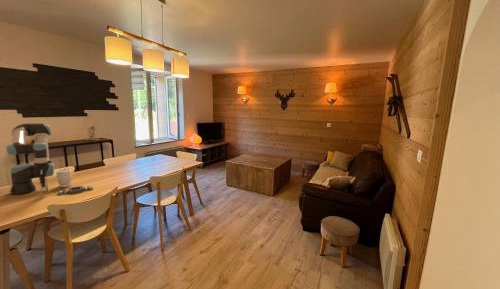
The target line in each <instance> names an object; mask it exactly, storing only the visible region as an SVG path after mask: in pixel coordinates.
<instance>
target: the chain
mask: <svg viewBox="0 0 500 289" xmlns="http://www.w3.org/2000/svg"><path fill="white" fill-rule="evenodd" d="M92 190H94V188H93V185H88V186H83V185H80V186H79V185H77V186H72V187H68V189H66V188H65V189H63V190H62V189H59V190H58V191H57V195H68V194H69V195H72V194H78V193H79V194H80V193H83V192H87V191H92Z"/></svg>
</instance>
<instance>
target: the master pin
mask: <svg viewBox="0 0 500 289" xmlns="http://www.w3.org/2000/svg"><path fill="white" fill-rule="evenodd" d="M38 180H39V184H40V183H41V182H40V178H38ZM45 183H46V191H42V189H41V188H40V191H41V193H43V194H44V193H48V192H49V190H48V177H45ZM40 186H41V184H40Z"/></svg>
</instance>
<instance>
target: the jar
mask: <svg viewBox="0 0 500 289" xmlns="http://www.w3.org/2000/svg"><path fill="white" fill-rule="evenodd" d="M71 171H72V169H70V168H63V169H58V170H56V180H57V183H58V185H59V186H58V187H59V188H66V187H67V188H69V187H70V186H71V185H72V184H71V182H72V178H73V174H72V172H71Z"/></svg>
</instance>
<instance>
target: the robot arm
mask: <svg viewBox="0 0 500 289" xmlns="http://www.w3.org/2000/svg"><path fill="white" fill-rule="evenodd" d="M11 135H12V140H11V143H10V144H8V145H6V153H7V155H9V156H10V155H11V156H12V155H25V154H26V155H27V154H33V160H34V163H33V164H32V165H31V163H20V164H16V165H14V166H12V167H10V178H11V186H10V190H9V194H10V195H14V196H19V195H25V194H29V193H34V192H35V191H36V190H37V188H36V185H35V184H34V182H33V179H39V178H40V180H39V184H41V185H40V190H41V189H42V191H46V183H45V177H47V178H48V177H52V176H54V173H55V163H54V162H52V160H50V153H49V152H50V150H49V142H48V140H49V138H50V136H52V132H51V128H50V125H49V123H41V122H40V123H21V124H18V125H16V126H15V127H14V128H13V129H12V130H11ZM26 137H31V138H32V139H34V143H26ZM40 182H41V183H40Z"/></svg>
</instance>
